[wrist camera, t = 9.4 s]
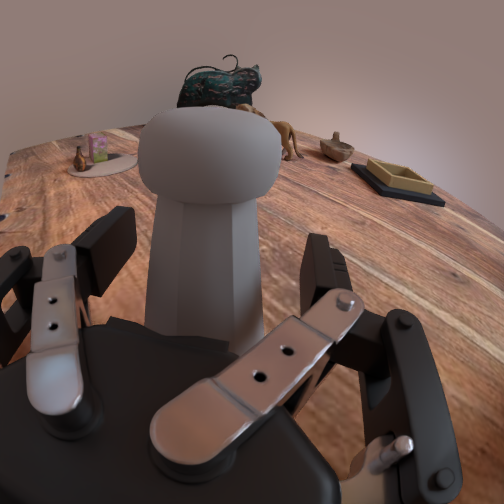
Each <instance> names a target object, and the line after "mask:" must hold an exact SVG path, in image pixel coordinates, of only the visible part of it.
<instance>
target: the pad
mask: <svg viewBox="0 0 504 504" xmlns="http://www.w3.org/2000/svg"><path fill="white" fill-rule="evenodd" d="M351 169H353V170H354V171H355V172H356V173H357V174H358V175H359V176H360V177H362V178H363V179H364V180H365V181H366V182H367V183H368V184H369V185H370V186H371V187H373V188H374V189H375V190H376V191H377V192H378V193H379V194H380V195H381V196H386V197H392V198H398V199H404V200H410V201H415V202H421V203H426V204H431V205H436V206H441V207H444V205H445V201H444V200H442V199H441V198H440V197H438V196H437V195H436V194H435V193H433V192H432V189H433V186H434V185H433V184H432V183H430V182H429V181H427V180H426V179H425V178H423V177H422V176H420V175H419V174H417V173H416V172H414V171H413V170H411V169H410V168H408V167H405V166H400V165H396V164H391V163H387V162H382V161H377V160H372V159H368V162H367V166H365V165H359V164H353V163H352V164H351Z"/></svg>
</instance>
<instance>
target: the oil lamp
mask: <svg viewBox="0 0 504 504" xmlns="http://www.w3.org/2000/svg"><path fill="white" fill-rule="evenodd" d="M320 147H321V150H322V152H323V153H324V154H325V155H327V156H329V157H330V158H332V159H334V160H336V161H339V162H342V161H345V160H347V159H348V158H350V157H351V156H352V154H353V152H354V148H353V147H352V146H351V145H349V144H346V143H343V142H340V141H339V133H338V132H334V134H333V138H332V139H331V140H327V139H324V140H320Z"/></svg>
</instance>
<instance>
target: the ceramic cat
mask: <svg viewBox="0 0 504 504" xmlns="http://www.w3.org/2000/svg"><path fill="white" fill-rule="evenodd" d="M227 56H234V55H226V56H225V57H224V58H226V57H227ZM234 57H235V58H236V59H237V57H236V56H234ZM224 58H223V59H224ZM201 68H213V69H215V71H204V72H199V73H196V74H195V75H193V76H191V77H190V78H189V79H187V80H186V78H187V77H188V75H189V74H190V73H191V72H193V71H194V70H196V69H201ZM233 71H234V73H232V74H231V73H230V72H233ZM186 78H185V81H184V82H185V83H184V85H183V87H182V89H181V91H180V94H179V99H178V102H177V108H184V107H204V106H208V105H218V106H223V107H227V108H229V109H236V106H238V105H240V104H248V105H250V106H252V96H251V94H252V93H253V92H254V91H256V90H257V89H258V88H259V87H260V85H261V81H262V78H261V74H260V72H259V66H258V65H255V66H254V67H252V68H241V67H239V66H238V59H237V65H236V68H235V69H234V70H232V71H223V70H220V69H216V68H214V67H210V66H202V67H197V68H194V69H192V70H191V71H190V72H189V73H188V74H187V76H186Z"/></svg>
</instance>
